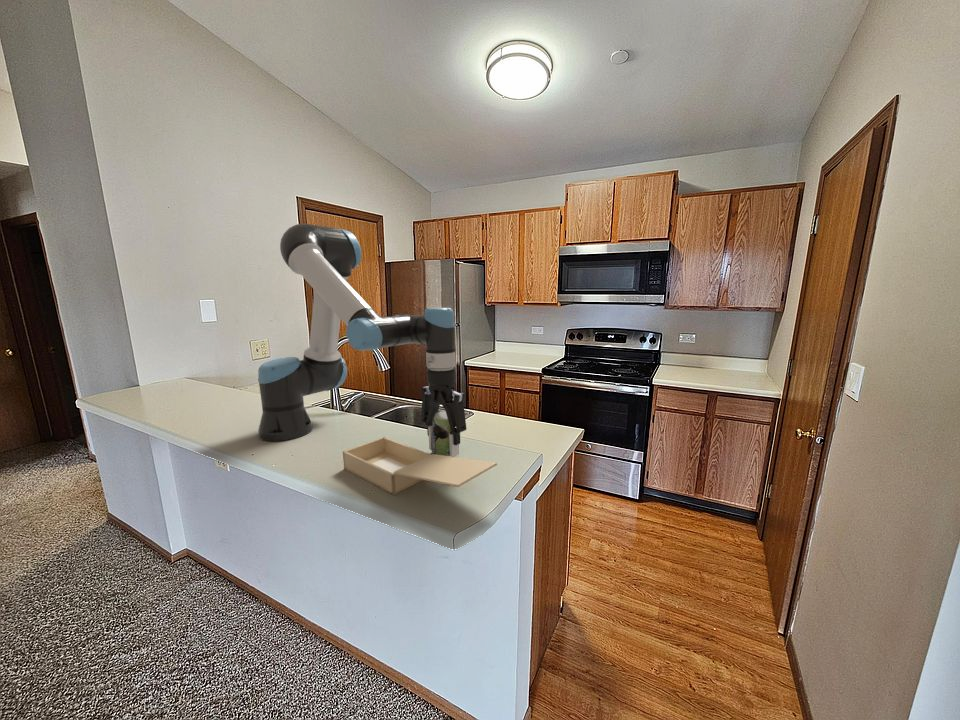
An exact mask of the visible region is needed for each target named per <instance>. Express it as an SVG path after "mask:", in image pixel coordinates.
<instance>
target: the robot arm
mask: <svg viewBox="0 0 960 720" xmlns="http://www.w3.org/2000/svg"><path fill="white" fill-rule="evenodd" d="M279 244H280V245H279V250H280V253H281V257H282V259H283V262H284V263H285V264H286V265H287V267H289V269H290V270H291V271H292V272H293V273H295V274H297V275H301V276H302V278H303V279H304V280H305V281H306V282H307V283H308V285H310V286H311V288H312V289H313V290H314V291H313V301H312V314H311V315H312V316H311V325H310V337H309V347H308V348H306V349H305V350H303V351H304V352H303V358H302V359H300V358H298V357H296V356H287V357H284V358H283V357H282V358H281V357H280V358H279V357H278V358H275V359H272V360H269V361H266V362H264V363H262V364H261V365H260V366H259V367H258V369H257V370H258V378H257V381H258V385H259V393H260V401H261V407H262V413H261V418H260V422H259V425H258V430H257V431H258V438H259V439H260V438H261V439H262V440H261V439H260V440H261V441H265V440H267V441H266V442H279V441H280V442H281V441H287V440H293V439H296V438H300V437H303V436H305V435H307V434H309V433H310V432H311V431H312V429H313V423H312V420H311V417H310V415H309V414H308V412H307V410H306V408H305V402H304V397H305V396H310V395H315V394H317V393H322V392H329V391H331V390H334V389H337V388H339V387H340V386H342V385H343V384H344V382H345V381H346V379H347V375H348V367H347V366H346V365H347V363H346V360H345V359H344V358H343V357H342V354H341V353H340V351H339V350H338V344H339V336H340V330H341V329H340V327H341V322H343V323H344V324H345V326H346V329H345V334H346V335H345V336H346V339H347V340H348V344H349V345H350V346H351V348H352V349H354V350H356V351H375V350H377V349H382V348H383V349H384V348H389V347H395V346H402V345H408V344H409V345H410V344H418V345H419V344H421V345H425V355H426V356H425V357H426V361H425V362H426V367H427V370H426V383H427V384H428V385H427V386H423V387H421V389H420V390H421V395H422V397H421V399H422V400H421V413H420V414H421V417H420V419H421V422H422V423H425V425H426V429H427V430H426V431H427V436H428V450H429V451H432V425H433V418H434V416H435V414H436V413H437V412H439V409H440V405H441V406H442V408H443V409H444V411H446V414H447V418H448V421H449V425H450V428H451V431H452V432H450V433H449V443H450V456H451V457H457V456H459V454H460V444H461V433H462V432H465V431H467V423H466V413H465V407H464V403H465V402H464V401H465V393H464V392H458V391H456V388H455V383H456V382H457V369H456V368H455V367H456V365H457V363H456V361H457V360H456V346H455V345H456V322H455V313H454V312H455V311H454V310H453V308H451V307H427V308H425V310H424V314H423V315H421V314H420V315H416V314H407V313H404V314H396V315H392V316H380V315H379V314H378V313H377V312H376V311H375V310H374V308H372V307H371V305H370V304H369V303H368V302H367V301H366V300H365V299H364V298H363V297H362V296H361V295H360V294H359V293H358V292H357V291H356V290H355V289H354V287H352V285H351V284H350V283H349V282H348V281H347V280H348V279H349V278H351V275H352V270H354V269H356V268H358V267H359V265H360V263H361V260H362V248H361V245H360V242H359V241H358V238H357V236H355V235H354V233H353V232H351V231H349V230H346V229H343V228H339V227H331V226H325V225H316V224H310V223H298V224H297V223H296V224H295V225H292V226H291V227H288V229H287V230H286V231H284V233H283V235H282V237H281V239H280V243H279ZM308 432H309V433H308Z"/></svg>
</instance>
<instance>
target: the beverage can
mask: <svg viewBox="0 0 960 720" xmlns="http://www.w3.org/2000/svg"><path fill="white" fill-rule="evenodd" d="M450 432H452V431H451V428H450V425H449V421H448V418H447V414H446V411H445V410H440V411H439V410H438V412H437V413H436V414H435V416H434V418H433V425H432V450H431V453H432V454H437V455H444V456H450V443H449V433H450Z"/></svg>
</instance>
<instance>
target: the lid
mask: <svg viewBox="0 0 960 720" xmlns="http://www.w3.org/2000/svg"><path fill="white" fill-rule="evenodd" d="M496 466H498V463H497V462H493V461H487V460H478V459H472V458H464V457H457V456H454V457H451V456H444V455H437V454H433V453H432V454H431V455H430V456H428V457H426V458H423V459H421V460H419V461H417V462H414V463H412V464H410V465H408V466H405V467H403V468H401V469H399V470H397V471H394V474H398V475H403V476H408V477H412V478H417V479H422V480H423V481H428V482H431V483H438V484H442V485H446V486H451V487H456V488H459V487H461V486H463V485H465V484H467V483H468V482H470V481H472V480H474V479H475V478H477V477H479V476H481V475H482V474H484V473H485V472H487V471H490V470H491V469H493V468H494V467H496Z"/></svg>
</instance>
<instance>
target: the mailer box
mask: <svg viewBox="0 0 960 720" xmlns="http://www.w3.org/2000/svg"><path fill="white" fill-rule="evenodd" d="M430 455H432V454H430V453H429V452H425V451H422V450H420V449H418V448H415V447H412V446H409V445H407V444H404V443H402V442H399V441H396V440H394V439H391V438H388V437H386V436H383V437H380V438H378V439H377V438H376V439H374V440H372V441H369V442H365V443H363V444H360V445H358V446H357V445H356V446H354V447H352V448H349V449H346V450H343V451H342V459H343V469H344V470H345V471H347V472H349V473H351V474H353V475H355V476H356V477H359V478H360V479H362V480H365V481H366V482H367V483H370V484H372V485H374V486H375V487H377V488H379V489H381V490H383V491H385V492H387V493H389V494H390V495H393V496H395V495H397V494H399V493H401V492H403V491H405V490H406V489H409V488H410V487H413V486H415V485H417V484H419V483H421V482H423V481H424V480H422V479H417V478H412V477H408V476H403V475H398V474H394V471H397V470H399V469H401V468H403V467H405V466H408V465H410V464H412V463H414V462H417V461H419V460H421V459H423V458H426V457H428V456H430Z"/></svg>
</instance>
